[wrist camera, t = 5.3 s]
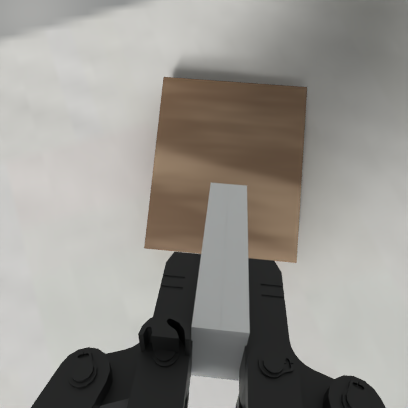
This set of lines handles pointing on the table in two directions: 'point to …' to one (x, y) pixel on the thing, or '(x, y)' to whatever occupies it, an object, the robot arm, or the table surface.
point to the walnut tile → (228, 162)
